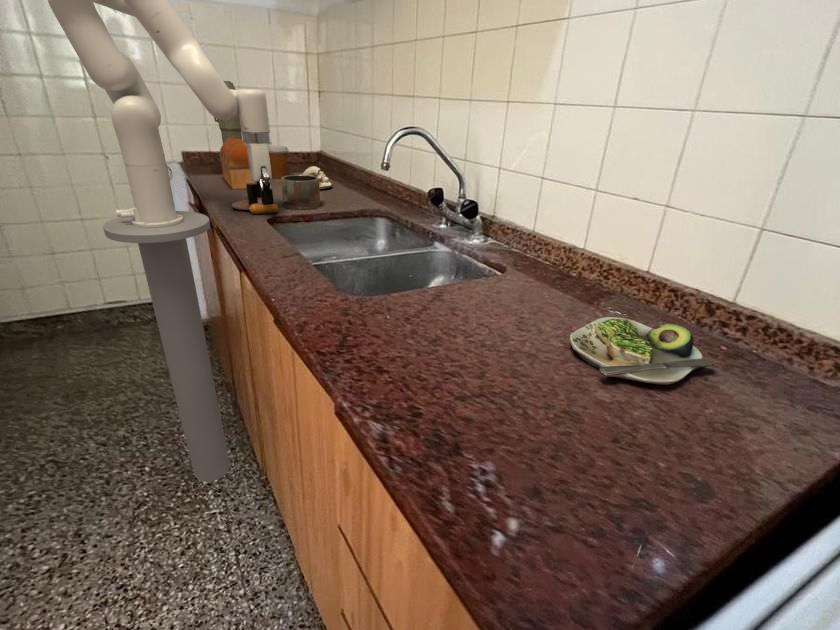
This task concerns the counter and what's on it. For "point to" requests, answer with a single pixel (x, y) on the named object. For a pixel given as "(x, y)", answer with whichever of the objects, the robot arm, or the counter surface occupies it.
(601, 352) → the avocado toast plate
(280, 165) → the disposable coffee cup
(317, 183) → the pot
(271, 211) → the eggroll
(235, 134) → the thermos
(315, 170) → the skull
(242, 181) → the bread
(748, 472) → the counter surface
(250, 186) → the lid
